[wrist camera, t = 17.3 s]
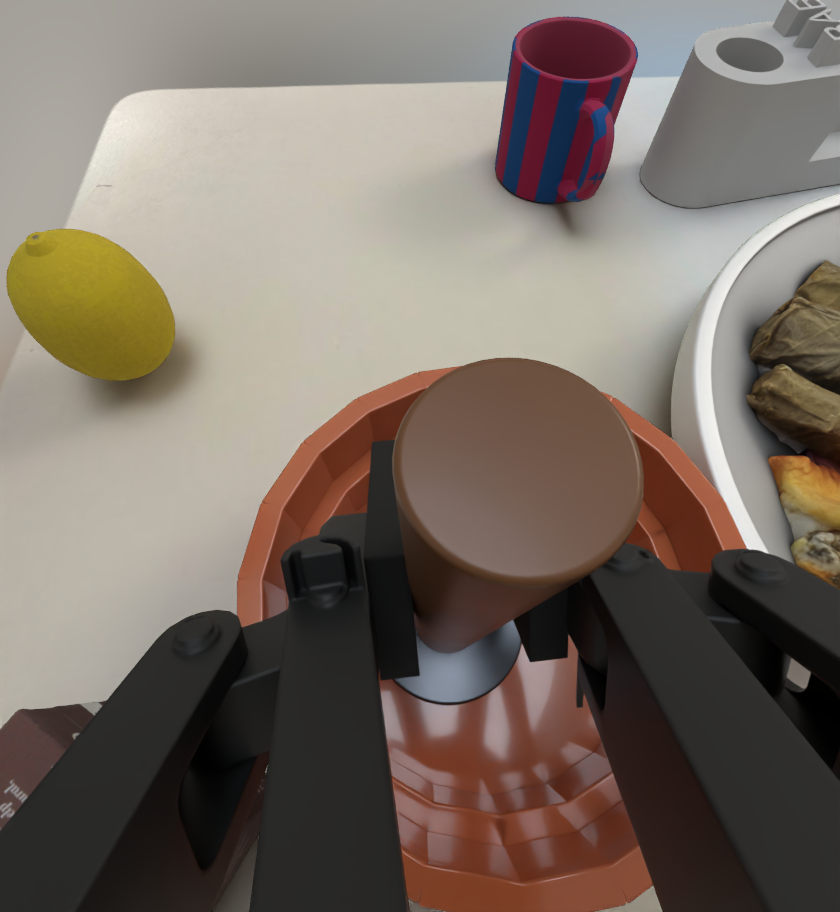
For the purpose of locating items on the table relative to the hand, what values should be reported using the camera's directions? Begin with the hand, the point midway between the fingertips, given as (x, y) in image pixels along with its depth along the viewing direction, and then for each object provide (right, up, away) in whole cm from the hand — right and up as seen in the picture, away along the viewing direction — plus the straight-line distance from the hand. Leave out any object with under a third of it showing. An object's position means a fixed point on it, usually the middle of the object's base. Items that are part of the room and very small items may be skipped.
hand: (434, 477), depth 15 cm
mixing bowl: (+2, -6, +5) cm, 8 cm away
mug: (+8, +18, +16) cm, 26 cm away
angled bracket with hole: (+23, +20, +17) cm, 35 cm away
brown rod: (0, -5, +3) cm, 6 cm away
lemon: (-15, +5, +10) cm, 19 cm away
